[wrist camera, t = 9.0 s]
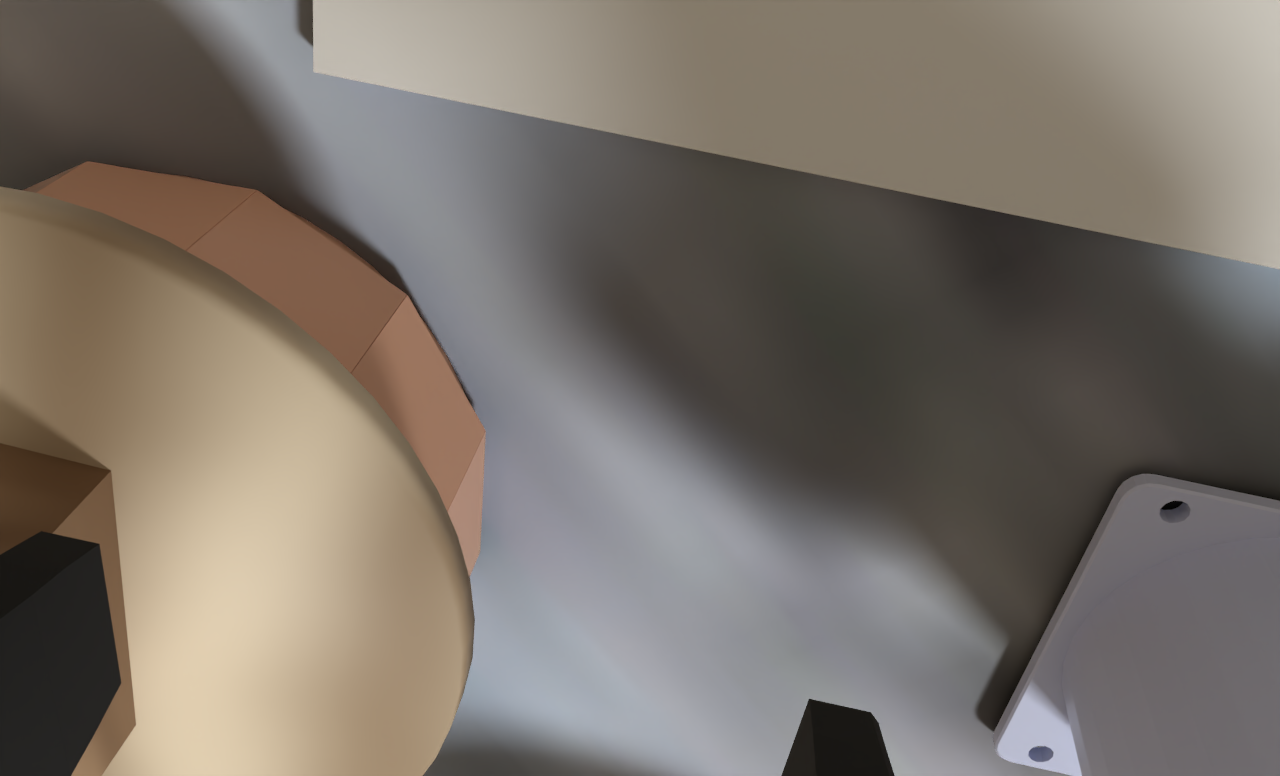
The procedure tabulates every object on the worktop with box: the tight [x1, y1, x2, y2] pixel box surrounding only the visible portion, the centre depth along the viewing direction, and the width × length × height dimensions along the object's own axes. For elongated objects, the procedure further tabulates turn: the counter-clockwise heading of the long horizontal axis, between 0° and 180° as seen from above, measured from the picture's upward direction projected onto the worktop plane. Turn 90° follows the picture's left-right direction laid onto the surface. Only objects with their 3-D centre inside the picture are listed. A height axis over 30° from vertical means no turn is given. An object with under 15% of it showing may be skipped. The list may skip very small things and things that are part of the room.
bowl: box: [23, 161, 486, 577], centre depth 21 cm, size 12×12×5 cm
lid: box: [0, 186, 475, 776], centre depth 17 cm, size 14×14×4 cm
